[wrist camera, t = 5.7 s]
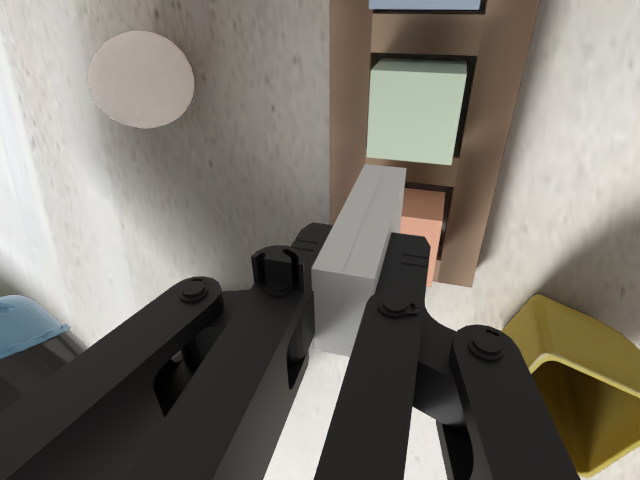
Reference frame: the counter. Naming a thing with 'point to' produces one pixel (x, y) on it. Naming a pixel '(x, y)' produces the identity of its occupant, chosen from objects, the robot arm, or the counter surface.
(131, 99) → the egg
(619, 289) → the counter surface
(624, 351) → the flower pot
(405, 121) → the key sage
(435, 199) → the key rust
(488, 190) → the board
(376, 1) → the key slate
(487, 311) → the counter surface
